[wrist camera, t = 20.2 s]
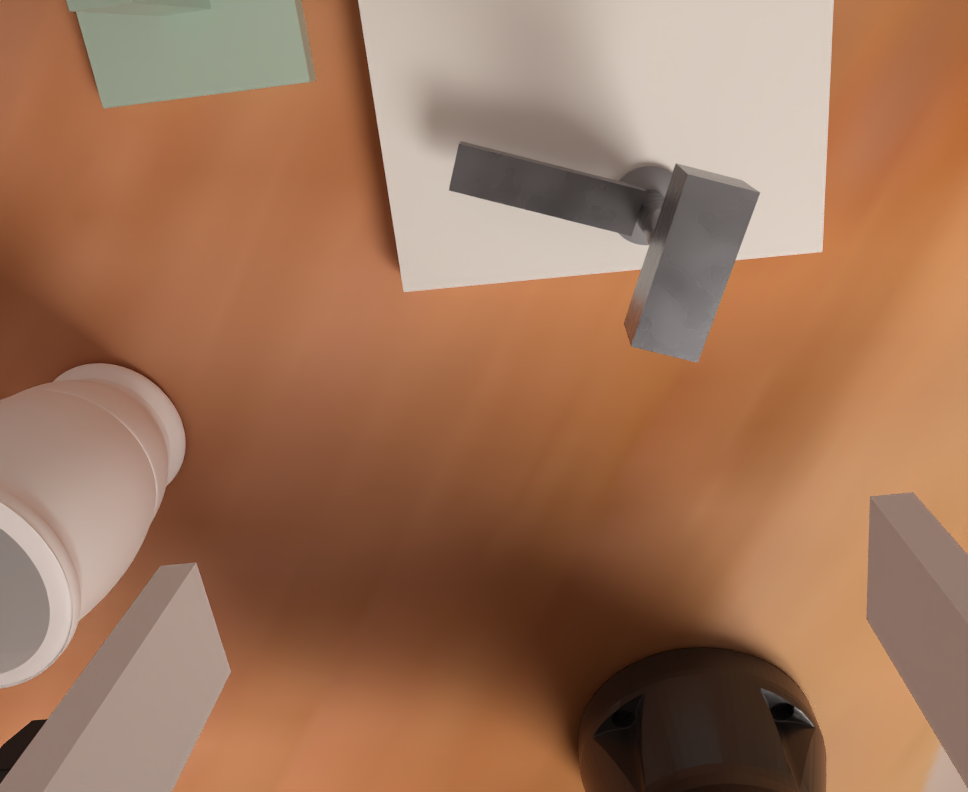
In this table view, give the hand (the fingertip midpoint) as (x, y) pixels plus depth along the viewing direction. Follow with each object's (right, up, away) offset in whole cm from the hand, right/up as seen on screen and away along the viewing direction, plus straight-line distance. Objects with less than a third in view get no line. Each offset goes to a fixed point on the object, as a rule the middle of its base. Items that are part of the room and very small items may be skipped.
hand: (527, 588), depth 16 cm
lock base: (+4, +21, +21) cm, 30 cm away
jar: (-22, +2, +31) cm, 38 cm away
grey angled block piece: (+3, +13, +22) cm, 26 cm away
